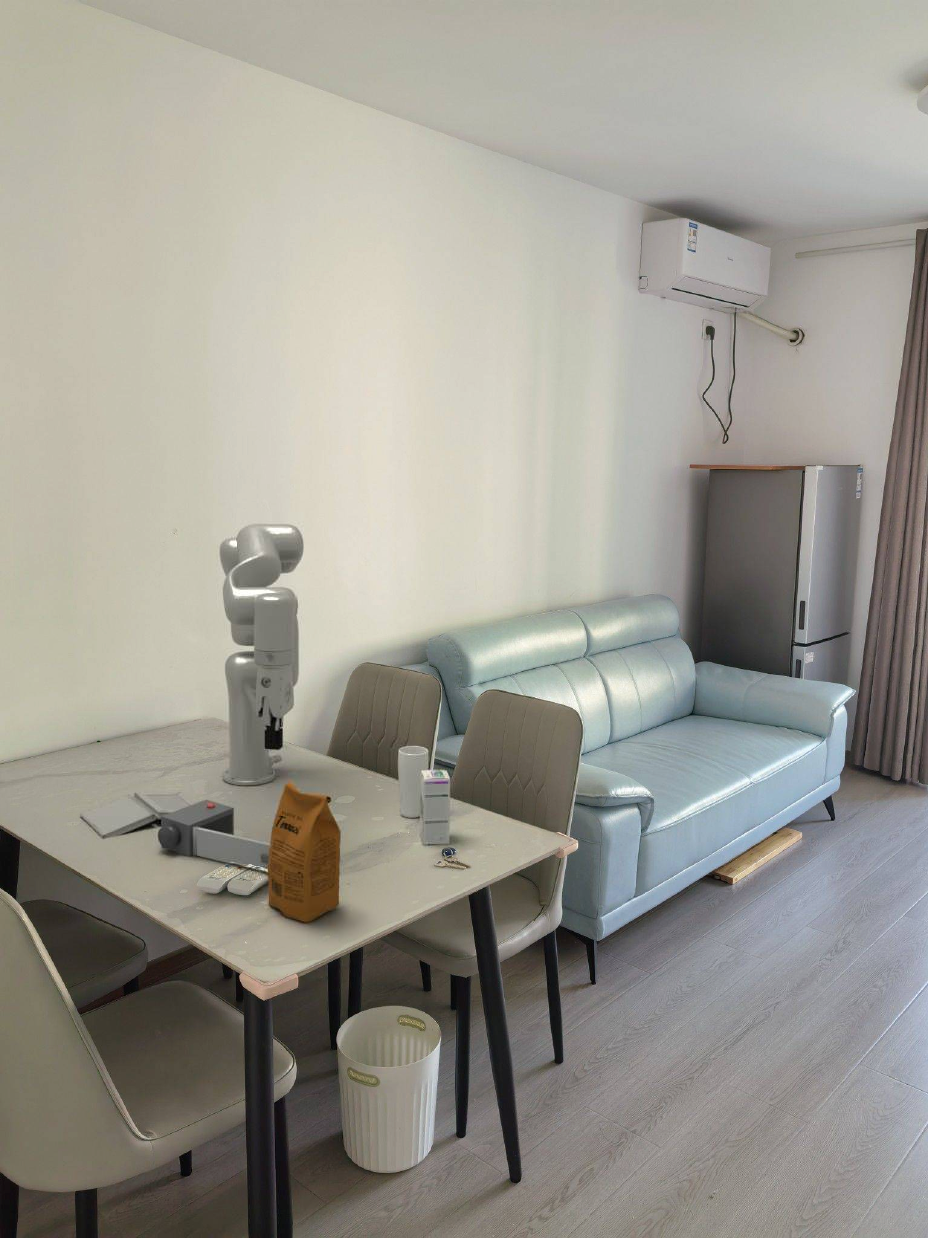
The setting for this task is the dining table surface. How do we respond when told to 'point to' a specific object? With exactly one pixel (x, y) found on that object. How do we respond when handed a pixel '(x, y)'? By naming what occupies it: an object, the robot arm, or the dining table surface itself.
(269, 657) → the robot arm
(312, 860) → the coffee package
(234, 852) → the side door
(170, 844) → the gray box with knob
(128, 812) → the gadget
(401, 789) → the drinking glass
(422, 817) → the syrup box
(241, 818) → the dining table surface
